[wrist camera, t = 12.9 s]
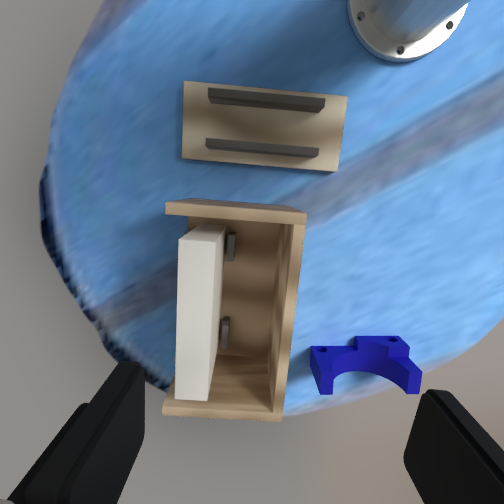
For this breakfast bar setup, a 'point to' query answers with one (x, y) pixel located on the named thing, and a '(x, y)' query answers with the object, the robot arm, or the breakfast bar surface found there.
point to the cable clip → (366, 362)
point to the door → (198, 309)
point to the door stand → (262, 126)
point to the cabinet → (249, 308)
